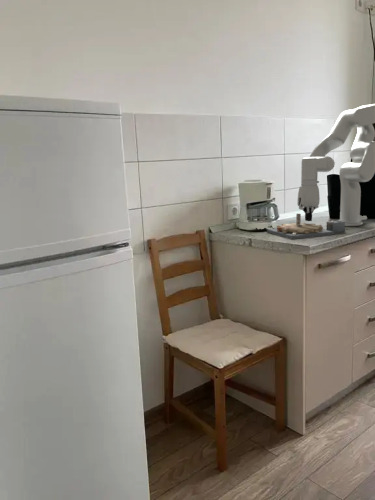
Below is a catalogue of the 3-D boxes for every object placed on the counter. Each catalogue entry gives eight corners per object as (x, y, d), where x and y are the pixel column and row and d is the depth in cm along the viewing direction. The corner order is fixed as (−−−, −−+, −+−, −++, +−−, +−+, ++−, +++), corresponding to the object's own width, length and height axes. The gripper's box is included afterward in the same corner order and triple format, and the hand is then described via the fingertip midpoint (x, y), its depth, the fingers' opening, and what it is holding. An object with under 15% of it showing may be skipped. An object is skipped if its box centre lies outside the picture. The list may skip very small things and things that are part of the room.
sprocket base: (305, 228, 218) (305, 223, 217) (333, 234, 198) (333, 229, 197) (267, 232, 211) (267, 227, 210) (292, 239, 190) (292, 234, 190)
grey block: (326, 232, 205) (326, 220, 204) (338, 230, 207) (338, 219, 206) (332, 233, 201) (332, 221, 199) (344, 232, 203) (345, 220, 202)
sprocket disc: (305, 224, 217) (305, 211, 215) (331, 230, 198) (332, 216, 196) (269, 228, 210) (269, 215, 208) (293, 235, 191) (293, 220, 189)
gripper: (317, 182, 214) (316, 218, 218) (291, 183, 209) (291, 221, 213) (327, 182, 207) (325, 220, 211) (300, 184, 203) (300, 223, 206)
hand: (308, 220), depth 212 cm, fingers closed
